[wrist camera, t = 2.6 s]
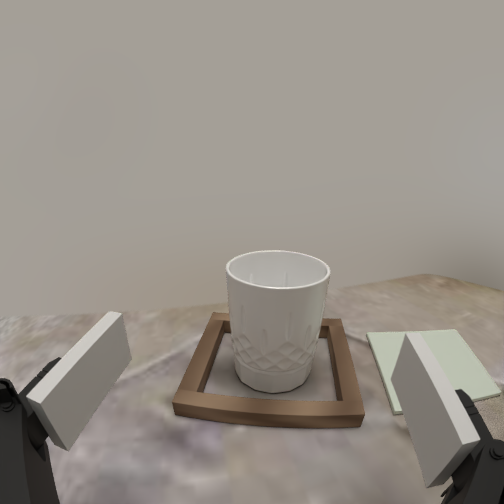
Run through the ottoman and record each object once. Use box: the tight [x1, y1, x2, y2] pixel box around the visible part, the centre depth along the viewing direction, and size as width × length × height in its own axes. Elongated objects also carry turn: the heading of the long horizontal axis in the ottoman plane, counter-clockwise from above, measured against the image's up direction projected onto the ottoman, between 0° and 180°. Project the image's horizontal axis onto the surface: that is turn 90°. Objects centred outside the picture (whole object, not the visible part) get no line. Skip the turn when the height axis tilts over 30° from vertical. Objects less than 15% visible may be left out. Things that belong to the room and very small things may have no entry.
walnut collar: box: [172, 312, 365, 428], centre depth 26 cm, size 14×14×2 cm
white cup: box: [226, 250, 330, 393], centre depth 24 cm, size 8×8×10 cm
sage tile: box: [366, 329, 501, 415], centre depth 24 cm, size 12×12×1 cm
